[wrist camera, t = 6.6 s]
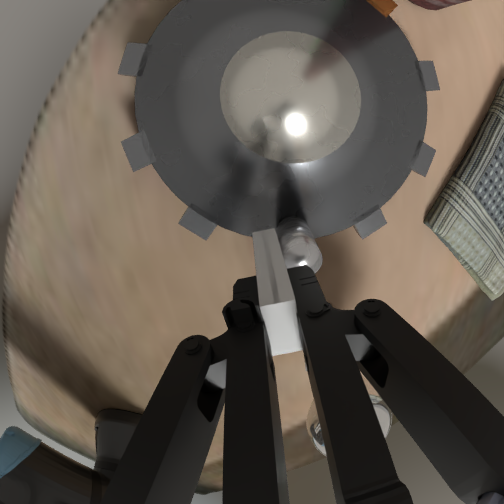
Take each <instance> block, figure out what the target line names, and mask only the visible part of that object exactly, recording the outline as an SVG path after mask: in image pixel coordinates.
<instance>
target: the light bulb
mask: <svg viewBox="0 0 504 504" xmlns="http://www.w3.org/2000/svg"><path fill="white" fill-rule="evenodd" d="M362 378H363V380H364V383H365V386H366V388H367V391H368V393H369V396H370V399H371V401H372V404H373V407H374V409H375V412H376V415H377V417H378V420H379V423H380V426H381V429H382V431H383V434H384V437H385V438H386V436H387V434H388V432H389V429H390V426H391V422H392V411H391V410H390V408H389V407H388V406H387V404H386V403H385V402H384V401H383V399H382V398H381V397H380V395H379V394H378V393H377V392H376V390H375V389H374V388H373V386H372V385H371V384H370V383H369V381H368V380H367V379H366V378H364V377H363V376H362ZM307 432H308V435H309V438H310V440H311V442H312V444H313V445H314V446H315V447H316V448H317V449H318V451H319V452H321V453H322V454H324V455H325V456H327V455H326V450H325V446H324V441H323V437H322V432H321V428H320V423H319V419H318V414H317V410H316V406H315V401H314V399H313V401H312V404H311V406H310V408H309V411H308V415H307Z"/></svg>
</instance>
